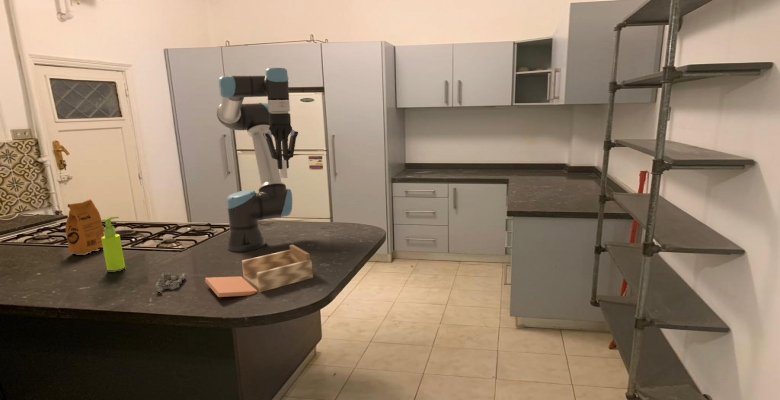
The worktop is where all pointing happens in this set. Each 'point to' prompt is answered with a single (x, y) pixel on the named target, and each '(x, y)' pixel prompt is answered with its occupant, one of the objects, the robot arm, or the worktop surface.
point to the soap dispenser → (112, 247)
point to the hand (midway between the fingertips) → (284, 177)
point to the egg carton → (169, 283)
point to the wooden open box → (278, 269)
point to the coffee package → (84, 227)
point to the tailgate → (230, 286)
